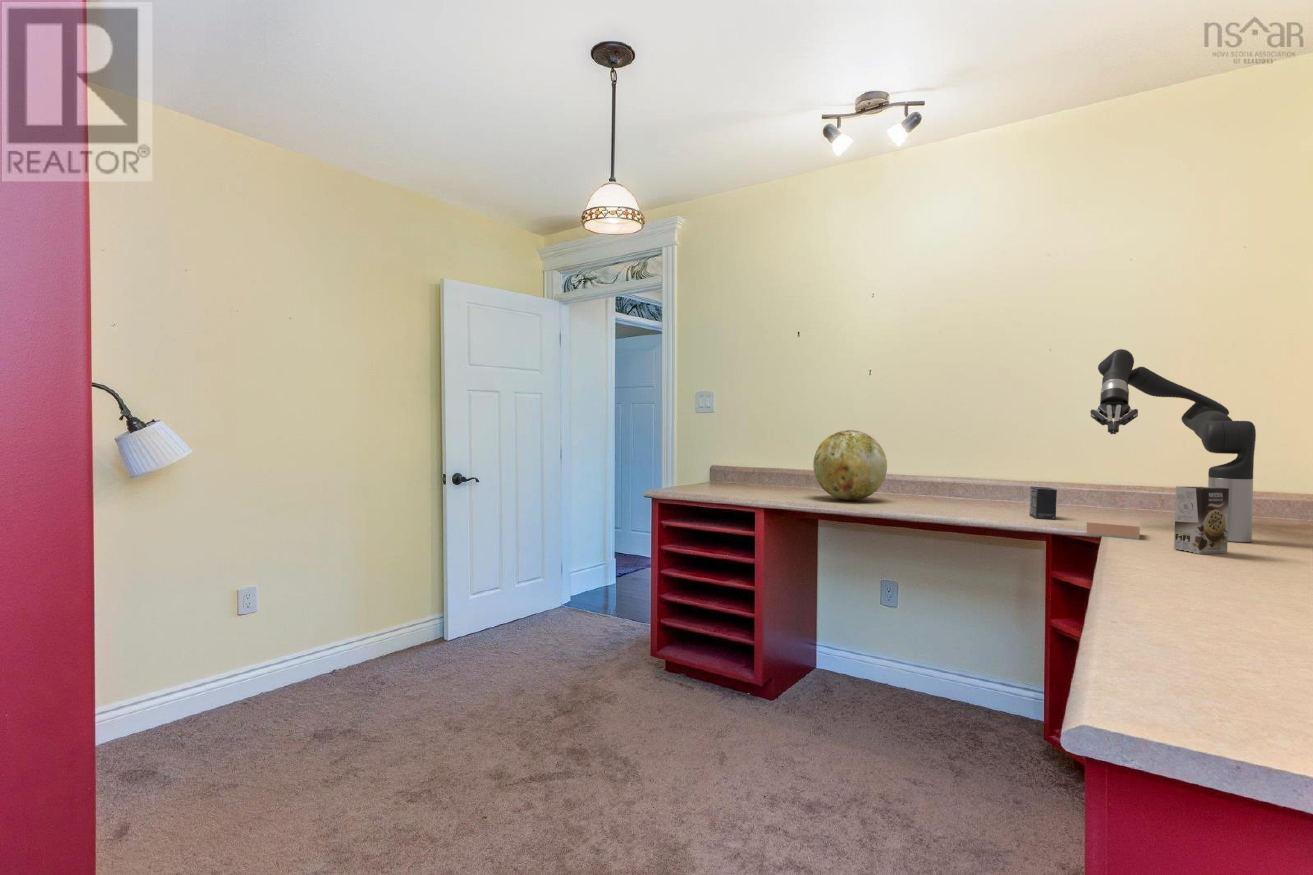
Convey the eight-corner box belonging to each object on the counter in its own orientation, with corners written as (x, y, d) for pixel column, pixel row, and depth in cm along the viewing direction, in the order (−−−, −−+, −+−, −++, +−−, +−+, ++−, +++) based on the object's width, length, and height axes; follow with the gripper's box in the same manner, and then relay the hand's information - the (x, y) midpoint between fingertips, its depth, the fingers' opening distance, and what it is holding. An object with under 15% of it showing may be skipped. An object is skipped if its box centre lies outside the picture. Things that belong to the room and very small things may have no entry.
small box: (1057, 520, 212) (1058, 489, 212) (1035, 519, 214) (1036, 488, 214) (1049, 516, 221) (1050, 487, 221) (1028, 515, 224) (1029, 486, 224)
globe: (800, 500, 265) (801, 429, 264) (831, 495, 287) (832, 430, 287) (869, 506, 245) (870, 430, 245) (897, 500, 267) (898, 431, 267)
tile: (1089, 518, 189) (1086, 522, 180) (1139, 522, 182) (1139, 526, 172) (1089, 531, 189) (1086, 536, 180) (1139, 535, 182) (1139, 541, 172)
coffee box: (1200, 554, 151) (1201, 488, 151) (1172, 549, 157) (1174, 485, 157) (1229, 553, 153) (1230, 487, 153) (1200, 548, 159) (1202, 485, 159)
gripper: (1139, 403, 204) (1139, 441, 194) (1090, 404, 212) (1087, 440, 202) (1140, 386, 199) (1139, 423, 190) (1089, 387, 207) (1087, 423, 198)
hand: (1113, 432), depth 196 cm, fingers closed
